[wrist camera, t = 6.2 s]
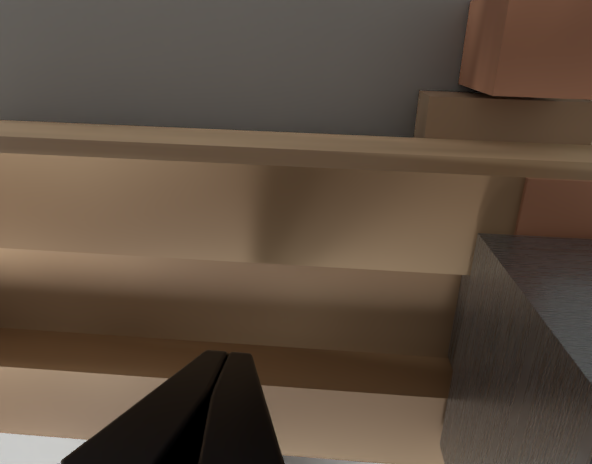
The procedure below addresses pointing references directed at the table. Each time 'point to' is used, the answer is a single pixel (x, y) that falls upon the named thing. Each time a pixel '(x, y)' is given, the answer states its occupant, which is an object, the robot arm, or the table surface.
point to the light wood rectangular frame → (288, 246)
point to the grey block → (522, 354)
